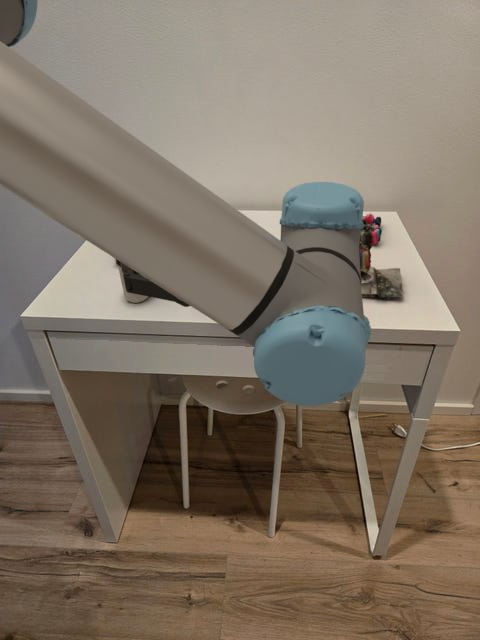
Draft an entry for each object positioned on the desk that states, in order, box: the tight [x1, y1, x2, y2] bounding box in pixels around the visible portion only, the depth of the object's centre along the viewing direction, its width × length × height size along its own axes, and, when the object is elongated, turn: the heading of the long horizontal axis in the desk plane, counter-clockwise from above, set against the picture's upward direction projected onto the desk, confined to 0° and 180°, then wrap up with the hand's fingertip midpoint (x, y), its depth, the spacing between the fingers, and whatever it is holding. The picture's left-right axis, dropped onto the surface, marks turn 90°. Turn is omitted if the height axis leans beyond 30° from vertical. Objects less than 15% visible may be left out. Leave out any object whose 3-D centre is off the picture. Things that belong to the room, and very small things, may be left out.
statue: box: [359, 212, 404, 301], centre depth 79 cm, size 11×9×15 cm
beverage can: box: [117, 265, 149, 304], centre depth 79 cm, size 5×5×12 cm
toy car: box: [362, 216, 382, 228], centre depth 100 cm, size 12×6×4 cm, turn 177°
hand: (155, 239), depth 67 cm, fingers open, 13 cm apart
